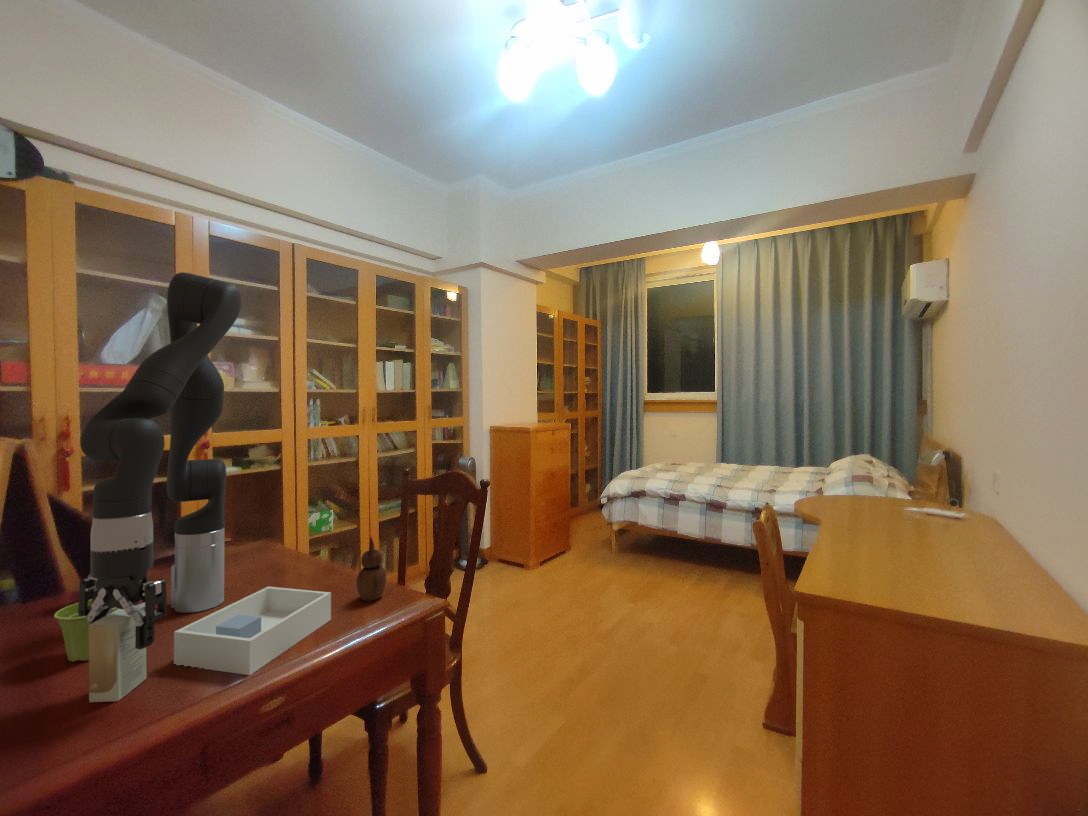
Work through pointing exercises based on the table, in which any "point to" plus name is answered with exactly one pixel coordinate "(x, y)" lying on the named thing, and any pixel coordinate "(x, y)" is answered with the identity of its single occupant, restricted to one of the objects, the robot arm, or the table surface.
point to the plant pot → (75, 632)
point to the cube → (240, 626)
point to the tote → (281, 628)
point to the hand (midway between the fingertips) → (122, 644)
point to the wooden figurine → (371, 575)
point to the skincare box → (114, 657)
